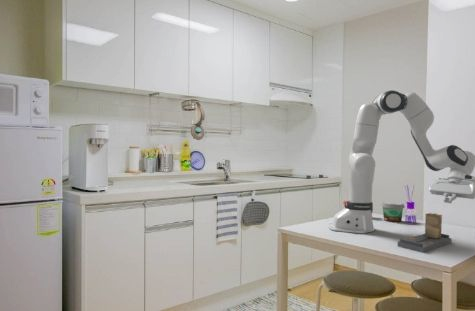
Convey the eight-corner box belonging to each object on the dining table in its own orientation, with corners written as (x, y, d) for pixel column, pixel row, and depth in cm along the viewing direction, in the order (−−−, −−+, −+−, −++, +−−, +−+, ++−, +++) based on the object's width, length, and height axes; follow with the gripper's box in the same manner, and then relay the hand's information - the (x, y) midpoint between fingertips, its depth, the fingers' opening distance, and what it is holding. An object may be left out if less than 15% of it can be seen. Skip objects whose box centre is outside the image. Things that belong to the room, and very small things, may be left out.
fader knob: (429, 234, 170) (430, 212, 170) (441, 237, 166) (441, 214, 166) (424, 236, 168) (425, 213, 167) (436, 238, 164) (437, 215, 163)
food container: (384, 222, 205) (385, 204, 204) (381, 220, 211) (381, 202, 210) (407, 223, 204) (408, 205, 204) (403, 220, 210) (403, 203, 210)
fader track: (426, 237, 175) (426, 230, 175) (451, 242, 166) (451, 235, 166) (397, 246, 160) (397, 238, 160) (423, 252, 151) (423, 244, 151)
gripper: (433, 173, 186) (422, 195, 181) (478, 177, 169) (468, 200, 164) (437, 182, 189) (427, 203, 183) (482, 186, 172) (472, 209, 167)
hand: (447, 202), depth 174 cm, fingers closed
